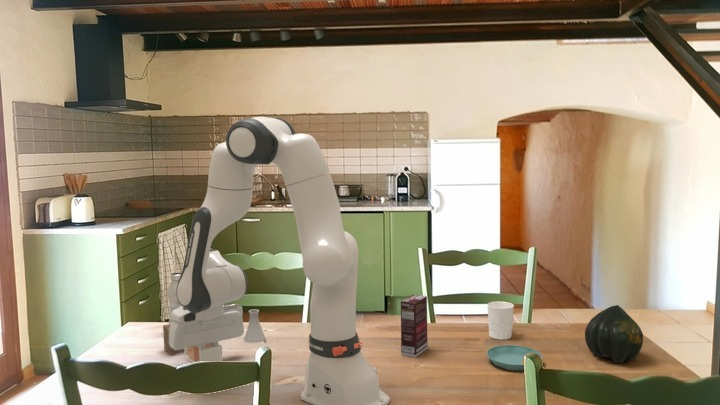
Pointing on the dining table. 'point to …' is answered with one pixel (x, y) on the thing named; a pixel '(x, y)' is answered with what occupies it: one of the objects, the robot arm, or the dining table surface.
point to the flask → (254, 329)
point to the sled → (207, 354)
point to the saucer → (509, 356)
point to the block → (195, 352)
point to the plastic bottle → (173, 294)
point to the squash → (614, 335)
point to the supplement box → (414, 325)
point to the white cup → (500, 319)
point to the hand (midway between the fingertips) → (208, 358)
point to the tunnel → (166, 340)
